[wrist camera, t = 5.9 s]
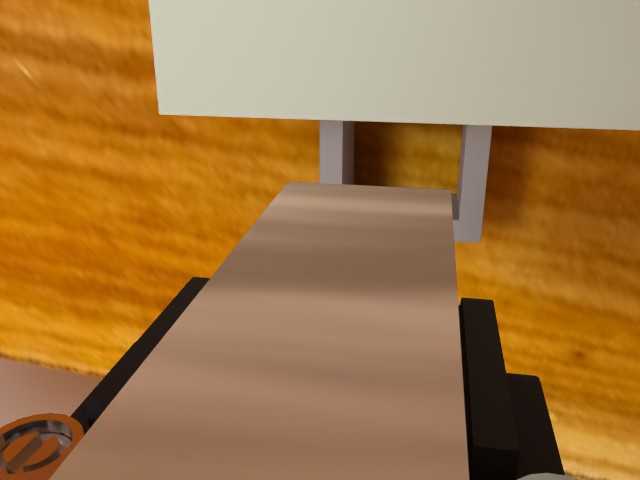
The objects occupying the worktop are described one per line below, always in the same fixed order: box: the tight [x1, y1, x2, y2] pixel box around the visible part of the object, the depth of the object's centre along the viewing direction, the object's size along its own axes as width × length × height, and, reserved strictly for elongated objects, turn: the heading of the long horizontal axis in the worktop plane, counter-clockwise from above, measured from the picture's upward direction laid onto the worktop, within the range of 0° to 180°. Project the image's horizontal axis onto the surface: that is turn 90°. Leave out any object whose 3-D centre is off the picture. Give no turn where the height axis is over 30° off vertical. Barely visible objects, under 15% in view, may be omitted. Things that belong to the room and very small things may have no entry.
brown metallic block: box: [49, 182, 469, 480], centre depth 10 cm, size 4×4×12 cm
